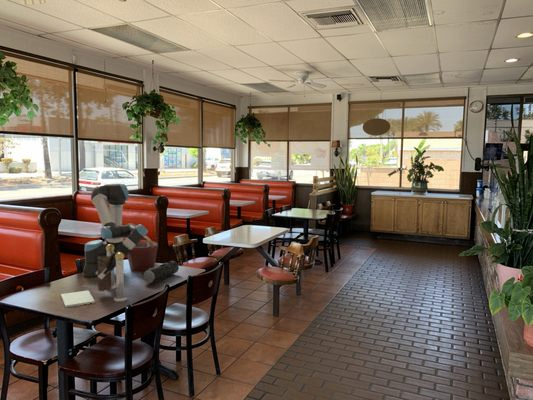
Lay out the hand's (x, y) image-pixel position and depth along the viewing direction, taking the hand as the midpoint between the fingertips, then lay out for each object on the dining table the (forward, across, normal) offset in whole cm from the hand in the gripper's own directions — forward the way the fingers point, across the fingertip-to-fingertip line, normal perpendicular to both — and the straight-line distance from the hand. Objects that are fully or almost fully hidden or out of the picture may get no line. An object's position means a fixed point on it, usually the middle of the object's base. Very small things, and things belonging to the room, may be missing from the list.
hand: (98, 276), depth 247 cm
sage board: (+17, 0, 0) cm, 17 cm away
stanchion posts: (+2, 0, -15) cm, 15 cm away
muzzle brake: (-21, +16, -39) cm, 47 cm away
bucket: (-19, +48, -37) cm, 64 cm away
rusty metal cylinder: (+4, 0, -9) cm, 9 cm away
